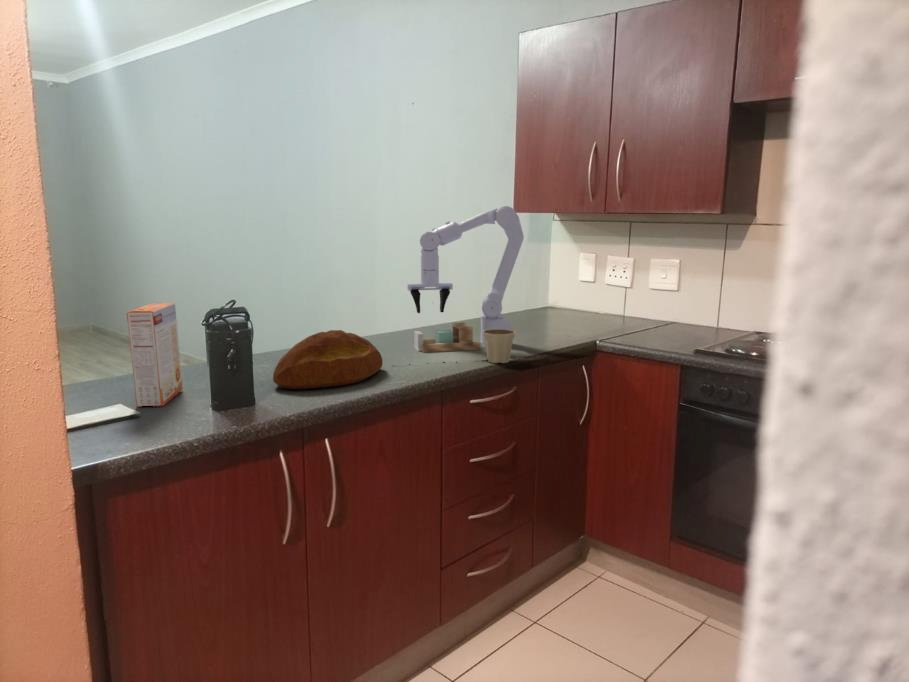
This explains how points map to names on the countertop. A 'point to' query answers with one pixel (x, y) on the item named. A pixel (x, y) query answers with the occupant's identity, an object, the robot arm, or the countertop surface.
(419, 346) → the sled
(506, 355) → the flower pot
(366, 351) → the bread
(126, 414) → the countertop surface
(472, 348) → the wooden frame
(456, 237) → the robot arm
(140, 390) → the cracker box
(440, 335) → the block
